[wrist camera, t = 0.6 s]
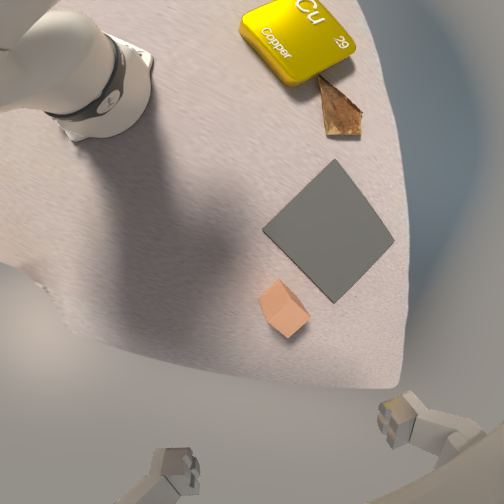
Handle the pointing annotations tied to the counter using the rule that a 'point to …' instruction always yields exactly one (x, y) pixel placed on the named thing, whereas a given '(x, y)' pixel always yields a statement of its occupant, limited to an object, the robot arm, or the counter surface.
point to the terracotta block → (283, 309)
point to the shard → (339, 111)
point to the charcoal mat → (330, 231)
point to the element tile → (296, 38)
